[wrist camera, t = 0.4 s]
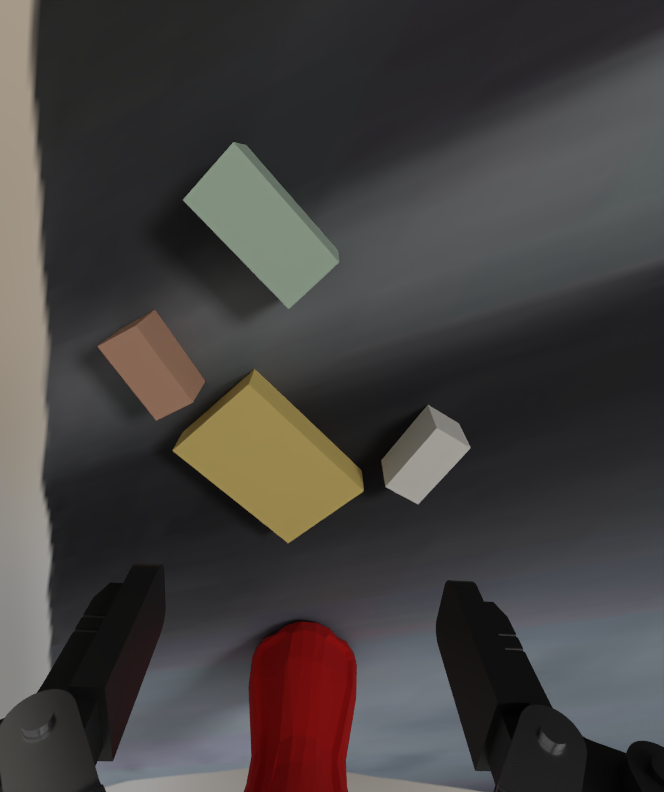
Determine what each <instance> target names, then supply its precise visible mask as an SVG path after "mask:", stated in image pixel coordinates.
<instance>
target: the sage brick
mask: <svg viewBox="0 0 664 792" xmlns="http://www.w3.org/2000/svg"><path fill="white" fill-rule="evenodd" d="M183 201H184V202H185V203H186V204H187V205H188V206H189V207H190V208H191V209H192V210H193V211H194V212H195V213H196V214H197V215H198V216H199V217H200V218H201V219H202V220H203V221H204V222H205V223H206V224H207V225H208V227H209V228H210V229H211V230H212V231H213V232H214V233H215V234H216V235H217V236H218V237H219V238H220V239H221V240H222V241H223V242H224V243H225V244H226V245H227V246H228V247H229V248H230V249H231V250H232V251H233V252H234V253H235V254H236V255H237V256H238V257H239V258H240V259H241V261H242V262H243V263H244V264H245V265H246V266H247V267H248V268H249V269H250V270H251V271H252V272H253V273H254V274H255V275H256V276H257V277H258V278H259V279H260V280H261V281H262V282H263V283H264V284H265V285H266V286H267V287H268V288H269V289H270V290H271V291H272V292H273V293H274V294H275V296H276V297H277V298H278V299H279V300H280V301H281V302H282V303H283V304H284V305H285V306H286V307H287V308H288V309H289V308H290V307H292V306H293V305H294V304H295V303H296V302H297V301H298V300H299V299H300V298H301V297H302V296H303V295H305V294H306V293H307V292H308V291H309V290H310V289H311V288H312V287H313V286H314V285H315V284H316V283H318V282H319V281H320V280H321V279H322V278H323V277H324V276H325V275H326V274H327V273H328V272H329V271H330V270H332V269H333V268H334V267H335V266H336V265H337V264H338V263H339V253H338V250H337V249H336V248H335V247H334V246H333V244H332V243H331V242H330V241H329V240H328V239H327V237H326V236H325V235H324V234H323V233H322V232H321V231H320V229H319V228H318V227H317V226H316V225H315V224H314V223H313V221H312V220H311V219H310V218H309V217H308V216H307V214H306V213H305V212H304V211H303V210H302V209H301V208H300V206H299V205H298V204H297V203H296V202H295V201H294V199H293V198H292V197H291V196H290V195H289V194H288V193H287V191H286V190H285V189H284V188H283V187H282V186H281V185H280V183H279V182H278V181H277V180H276V179H275V178H274V176H273V175H272V174H271V173H270V172H269V171H268V170H267V168H266V167H265V166H264V165H263V164H262V163H261V162H260V160H259V159H258V158H257V157H256V156H255V155H254V153H253V152H252V151H251V150H250V149H249V148H248V147H247V145H243V144H239V143H235V142H233V143H232V144H231V146H230V147H229V148H228V149H227V150H226V151H225V152H224V154H223V155H222V156H221V157H220V158H219V159H218V160H217V162H216V163H215V164H214V165H213V166H212V167H211V168H210V170H209V171H208V172H207V173H206V174H205V175H204V176H203V178H202V179H201V180H200V181H199V182H198V183H197V184H196V185H195V187H194V188H193V189H192V190H191V191H190V192H189V193H188V195H187V196H186V197H185V198H184V199H183Z"/></svg>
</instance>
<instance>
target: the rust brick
mask: <svg viewBox="0 0 664 792" xmlns="http://www.w3.org/2000/svg"><path fill="white" fill-rule="evenodd" d="M97 347H98V348H99V349H100V350H101V352H102V353H103V354H104V355H105V357H106V358H107V359H108V360H109V362H110V363H111V364H112V366H113V367H114V368H115V369H116V371H117V372H118V373H119V374H120V376H121V377H122V378H123V379H124V381H125V382H126V383H127V384H128V386H129V387H130V388H131V389H132V391H133V392H134V393H135V394H136V396H137V397H138V398H139V400H140V401H141V402H142V403H143V405H144V406H145V407H146V408H147V410H148V411H149V412H150V413H151V415H152V416H153V417H154V418H155V420H158V419H160V418H162V417H164V416H167V415H169V414H171V413H173V412H175V411H177V410H179V409H181V408H183V407H185V406H187V405H189V404H191V403H193V401H194V400H195V398H196V396H197V395H198V393H199V391H200V389H201V388H202V386H203V384H204V383H205V380H204V379H203V377H202V376H201V375H200V373H199V372H198V370H197V369H196V367H195V366H194V365H193V363H192V362H191V360H190V359H189V358H188V356H187V355H186V353H185V352H184V350H183V349H182V348H181V346H180V345H179V343H178V342H177V340H176V339H175V338H174V336H173V335H172V333H171V332H170V331H169V329H168V328H167V326H166V325H165V323H164V322H163V321H162V319H161V318H160V316H159V315H158V314H157V312H156V311H155V310H154V311H152V312H150V313H148V314H147V315H145V316H143V317H141V318H139V319H137V320H136V321H134V322H132V323H130V324H128V325H127V326H125V327H123V328H121V329H119V330H118V331H117V332H116V333H114V334H113V335H112V336H110V337H109V338H108V339H106V340H105V341H104V342H103V343H101V344H100V345H99V346H97Z"/></svg>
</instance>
